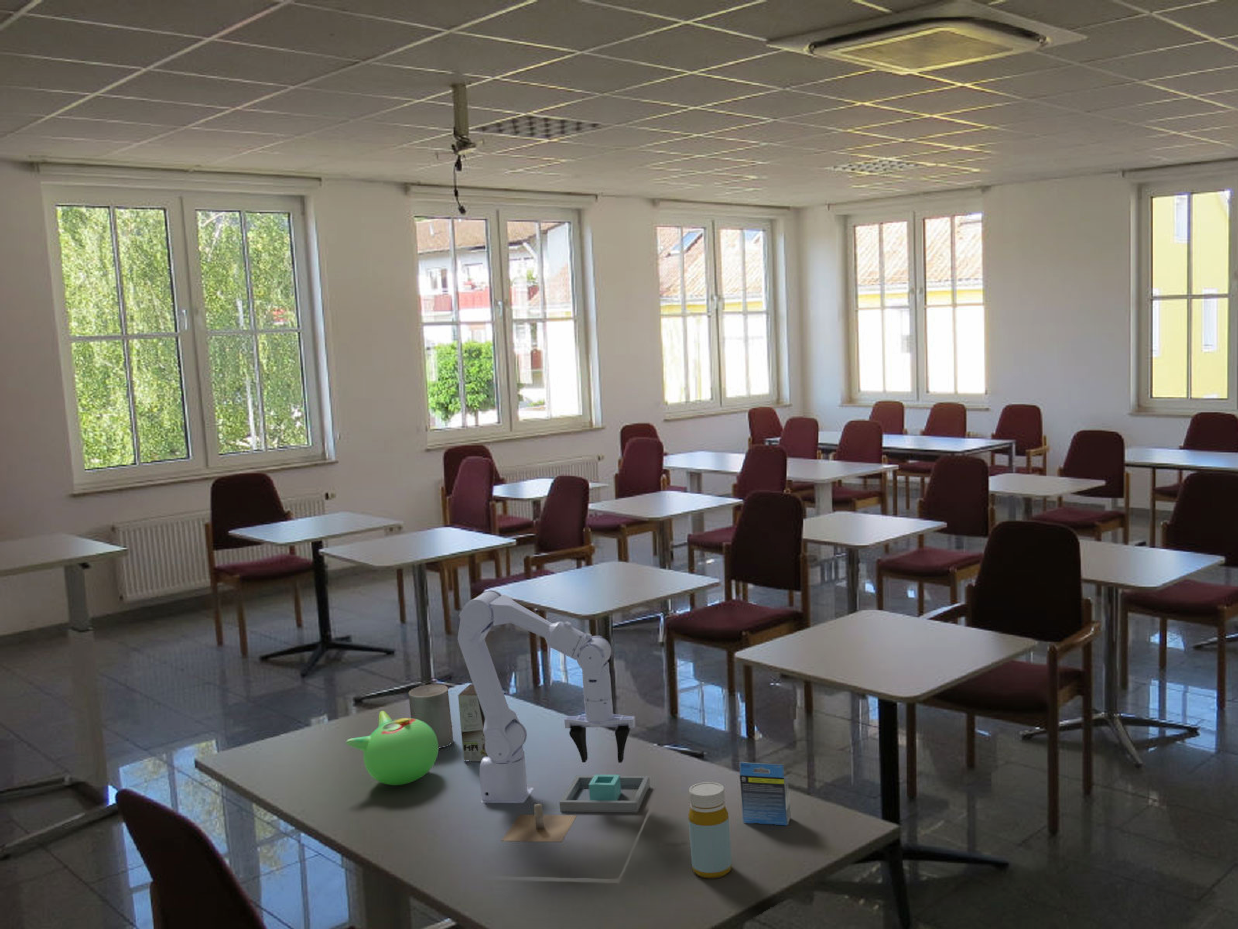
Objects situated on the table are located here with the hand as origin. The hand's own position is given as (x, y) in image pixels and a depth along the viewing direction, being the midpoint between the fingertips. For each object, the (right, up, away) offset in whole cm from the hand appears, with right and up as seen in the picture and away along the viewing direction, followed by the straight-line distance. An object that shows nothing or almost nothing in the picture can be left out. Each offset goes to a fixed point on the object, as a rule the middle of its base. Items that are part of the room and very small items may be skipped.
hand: (602, 761), depth 234 cm
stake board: (-12, -11, -12) cm, 20 cm away
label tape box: (+32, -8, -15) cm, 36 cm away
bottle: (+20, -11, -34) cm, 41 cm away
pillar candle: (-42, -8, +44) cm, 61 cm away
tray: (+1, -8, +1) cm, 9 cm away
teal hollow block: (+1, -8, +1) cm, 8 cm away
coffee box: (-29, -8, +34) cm, 45 cm away
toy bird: (-46, -10, +21) cm, 51 cm away
